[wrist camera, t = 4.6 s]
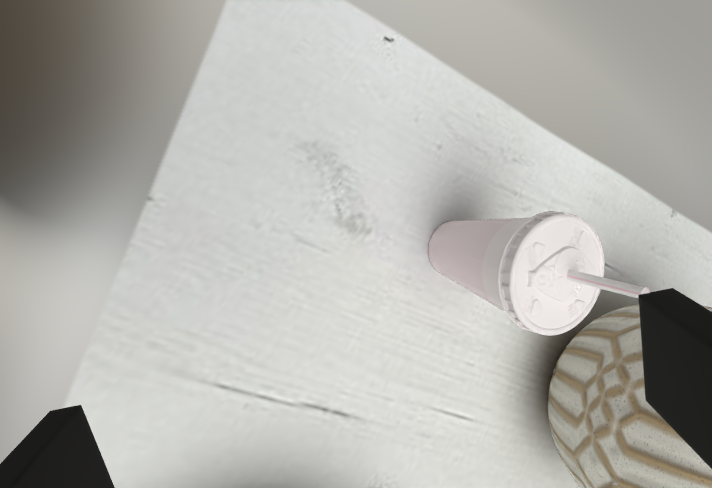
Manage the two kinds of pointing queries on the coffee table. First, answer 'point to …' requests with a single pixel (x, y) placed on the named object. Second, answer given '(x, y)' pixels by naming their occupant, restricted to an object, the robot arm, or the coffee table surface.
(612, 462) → the vase
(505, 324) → the coffee table surface
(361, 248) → the coffee table surface
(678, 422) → the robot arm
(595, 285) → the smoothie
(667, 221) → the coffee table surface
